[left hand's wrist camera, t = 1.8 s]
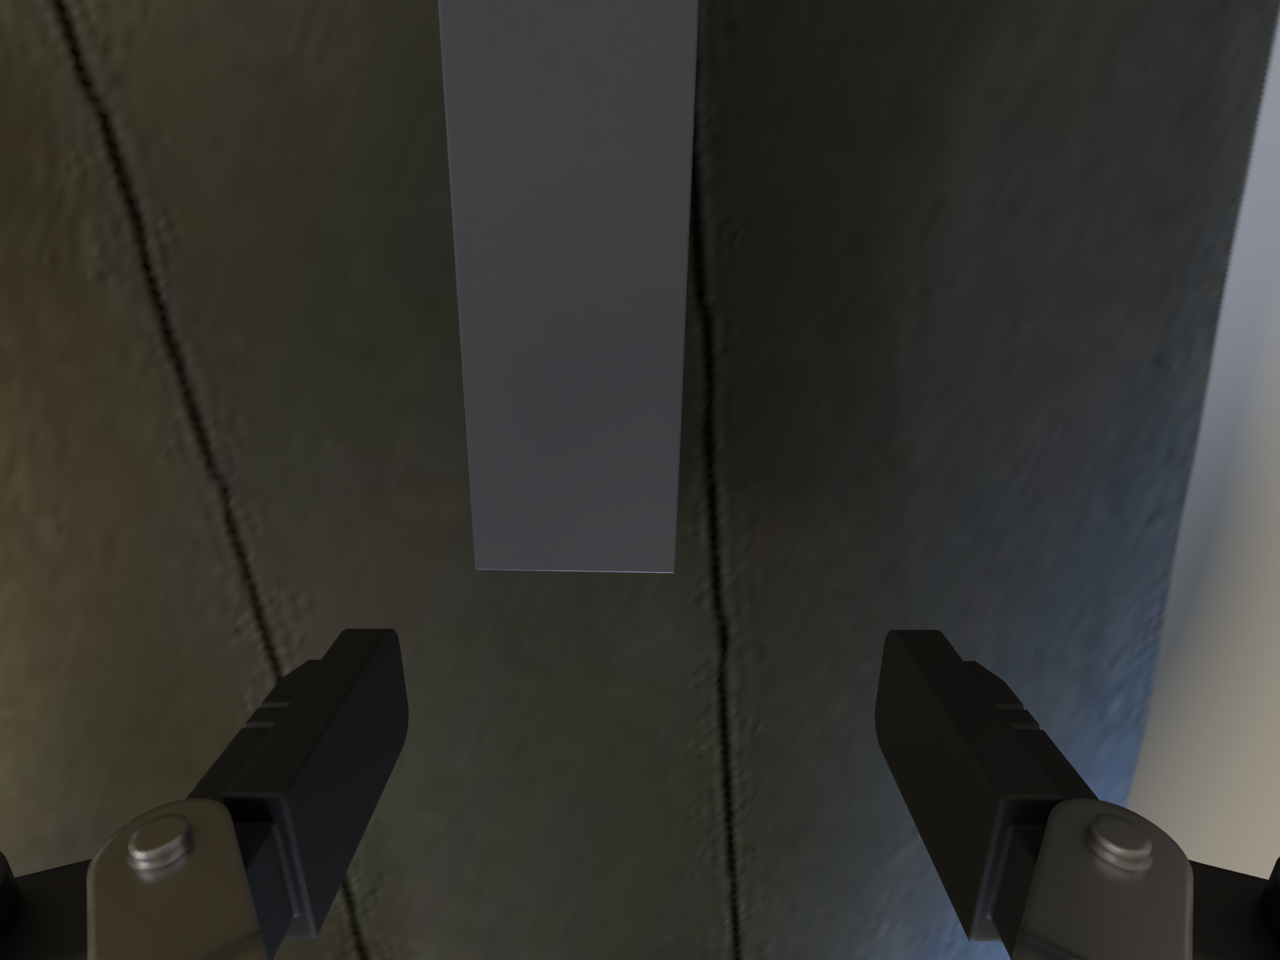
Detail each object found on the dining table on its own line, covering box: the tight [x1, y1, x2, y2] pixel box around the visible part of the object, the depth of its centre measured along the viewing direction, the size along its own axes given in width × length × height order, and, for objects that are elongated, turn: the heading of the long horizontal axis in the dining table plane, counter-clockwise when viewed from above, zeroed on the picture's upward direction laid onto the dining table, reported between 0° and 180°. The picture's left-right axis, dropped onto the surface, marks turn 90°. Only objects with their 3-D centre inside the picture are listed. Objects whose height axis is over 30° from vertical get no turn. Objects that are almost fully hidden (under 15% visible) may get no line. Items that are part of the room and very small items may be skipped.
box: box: [437, 0, 699, 573], centre depth 21 cm, size 27×6×10 cm, turn 179°
